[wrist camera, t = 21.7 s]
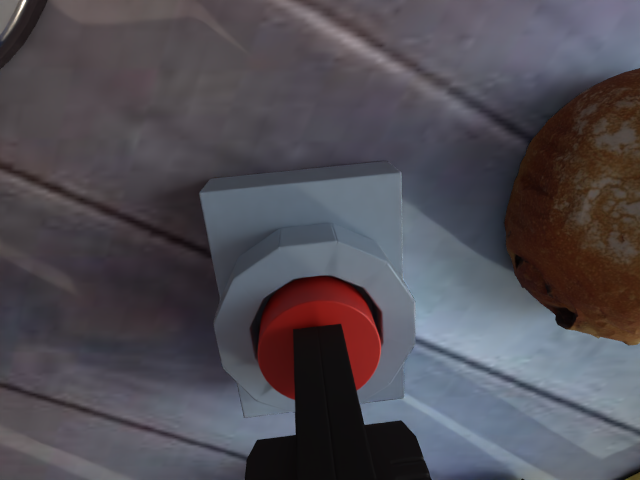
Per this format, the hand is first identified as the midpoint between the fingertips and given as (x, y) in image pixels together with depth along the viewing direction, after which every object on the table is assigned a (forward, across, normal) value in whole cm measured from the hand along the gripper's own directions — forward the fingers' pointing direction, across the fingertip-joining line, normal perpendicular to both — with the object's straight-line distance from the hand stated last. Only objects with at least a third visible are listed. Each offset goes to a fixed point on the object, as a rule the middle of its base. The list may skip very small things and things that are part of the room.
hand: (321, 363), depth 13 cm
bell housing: (+5, 0, 0) cm, 5 cm away
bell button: (+2, 0, 0) cm, 2 cm away
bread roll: (+6, +13, +2) cm, 14 cm away
